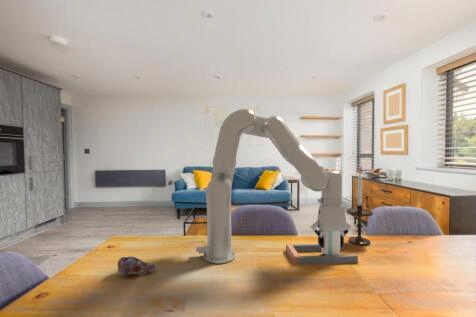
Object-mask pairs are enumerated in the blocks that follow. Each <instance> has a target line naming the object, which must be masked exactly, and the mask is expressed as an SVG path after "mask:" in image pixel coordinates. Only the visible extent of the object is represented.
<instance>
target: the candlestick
mask: <svg viewBox="0 0 476 317" xmlns="http://www.w3.org/2000/svg"><path fill="white" fill-rule="evenodd" d="M362 169H363V166H361V167H360V169H359V170H358V172H359V174H358V176H357V204H355V207H354V208H353V207H351V208H347V209H346V213H347V214H348V215H352V216H356V217H357V224H356V226H355V227H356V228H357V230H356V233H357V236H350V237H348V242H349V243H350V244H353V245H356V246H360V247H361V246H362V247H365V246H366V247H368V246H370V245H371V240H370V239H368V238H365V237H362V233H363V230H362V229H363V228H364V225H363V224H362V218H363V217H373V215H374V211H373V210H370V209H366V208H363V207H365V205H364V204H363V176H362Z"/></svg>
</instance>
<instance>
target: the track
mask: <svg viewBox="0 0 476 317" xmlns="http://www.w3.org/2000/svg"><path fill="white" fill-rule="evenodd" d="M285 251H286V252H287V254H288V256H289V258H290V259H291V261H292V262H293V264H294V265H295V266H297V265H327V264H331V265H332V264H333V265H335V264H358V263H359V256H358V255H357V254H340V255H325V254H322V255H300V254H299V252H300V253H301V252H303V253H304V252H305V253H306V252H322V251H321V246H320V245H319V244H318V243H308V244H307V243H303V244H301V243H300V244H292V243H286V244H285ZM341 251H342V252H343V251H344V246H343V247H340V252H341Z"/></svg>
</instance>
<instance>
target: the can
mask: <svg viewBox="0 0 476 317" xmlns="http://www.w3.org/2000/svg"><path fill="white" fill-rule="evenodd" d="M333 227H334V228H332V229H330V230H329V231H328V232H324V235H323V238H324V247H323V248H322V247H321V251H320V252H321V253H322V255H341V251H340V233H341V232H340V231H339V230H338V229H337V228H335V226H333Z"/></svg>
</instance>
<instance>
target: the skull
mask: <svg viewBox="0 0 476 317" xmlns="http://www.w3.org/2000/svg"><path fill="white" fill-rule="evenodd" d="M116 265H117V272H118V273H119V274H120V275H121V276H125V277H127V276H130V275H138V276H143V275H145V274H146V275H147V274H148V273H149V271H150V272H152V270H155V263H152V262H146V261H145V262H144V260H142V259H140V258H138V257H135V256H122V257H120V258H119V260H118V261H117V264H116Z"/></svg>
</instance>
